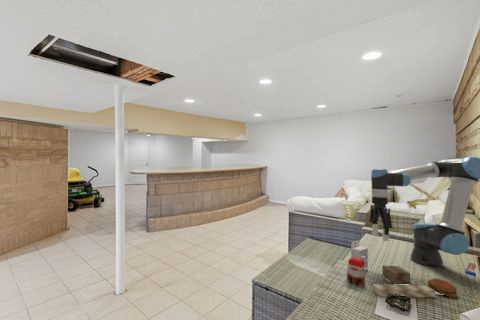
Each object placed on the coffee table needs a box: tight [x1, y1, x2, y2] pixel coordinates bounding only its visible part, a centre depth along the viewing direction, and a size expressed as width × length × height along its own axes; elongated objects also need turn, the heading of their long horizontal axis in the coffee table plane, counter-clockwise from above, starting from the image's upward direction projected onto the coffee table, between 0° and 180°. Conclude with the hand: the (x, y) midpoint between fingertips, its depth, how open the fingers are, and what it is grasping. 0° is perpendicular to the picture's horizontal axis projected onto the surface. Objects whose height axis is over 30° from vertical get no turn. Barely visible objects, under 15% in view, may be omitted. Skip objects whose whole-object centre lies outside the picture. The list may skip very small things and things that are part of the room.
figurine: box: [346, 256, 367, 287], centre depth 107 cm, size 8×7×12 cm
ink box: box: [350, 239, 369, 268], centre depth 122 cm, size 8×5×15 cm, turn 123°
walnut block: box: [382, 265, 411, 285], centre depth 109 cm, size 8×8×6 cm
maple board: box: [372, 283, 436, 298], centre depth 97 cm, size 24×4×3 cm, turn 89°
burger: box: [426, 278, 458, 299], centre depth 99 cm, size 10×9×5 cm
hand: (380, 238), depth 121 cm, fingers open, 9 cm apart
